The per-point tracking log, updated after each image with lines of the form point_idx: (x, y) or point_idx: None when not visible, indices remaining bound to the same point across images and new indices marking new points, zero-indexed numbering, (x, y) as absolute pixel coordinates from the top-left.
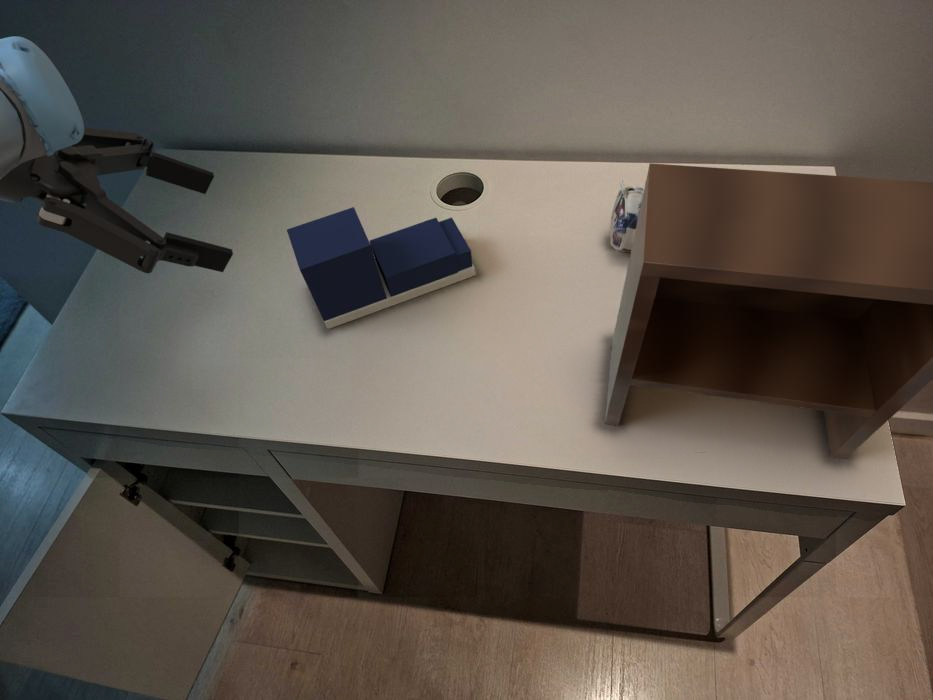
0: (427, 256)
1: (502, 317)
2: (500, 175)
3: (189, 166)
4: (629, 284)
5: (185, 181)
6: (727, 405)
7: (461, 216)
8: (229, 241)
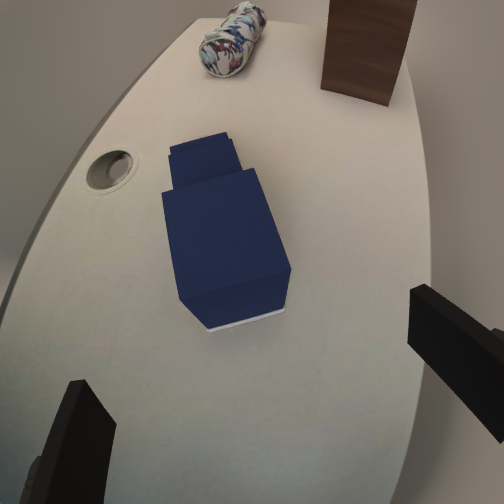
0: (229, 162)
1: (290, 140)
2: (110, 138)
3: (58, 431)
4: (368, 6)
5: (96, 459)
6: None
7: (145, 166)
8: None
